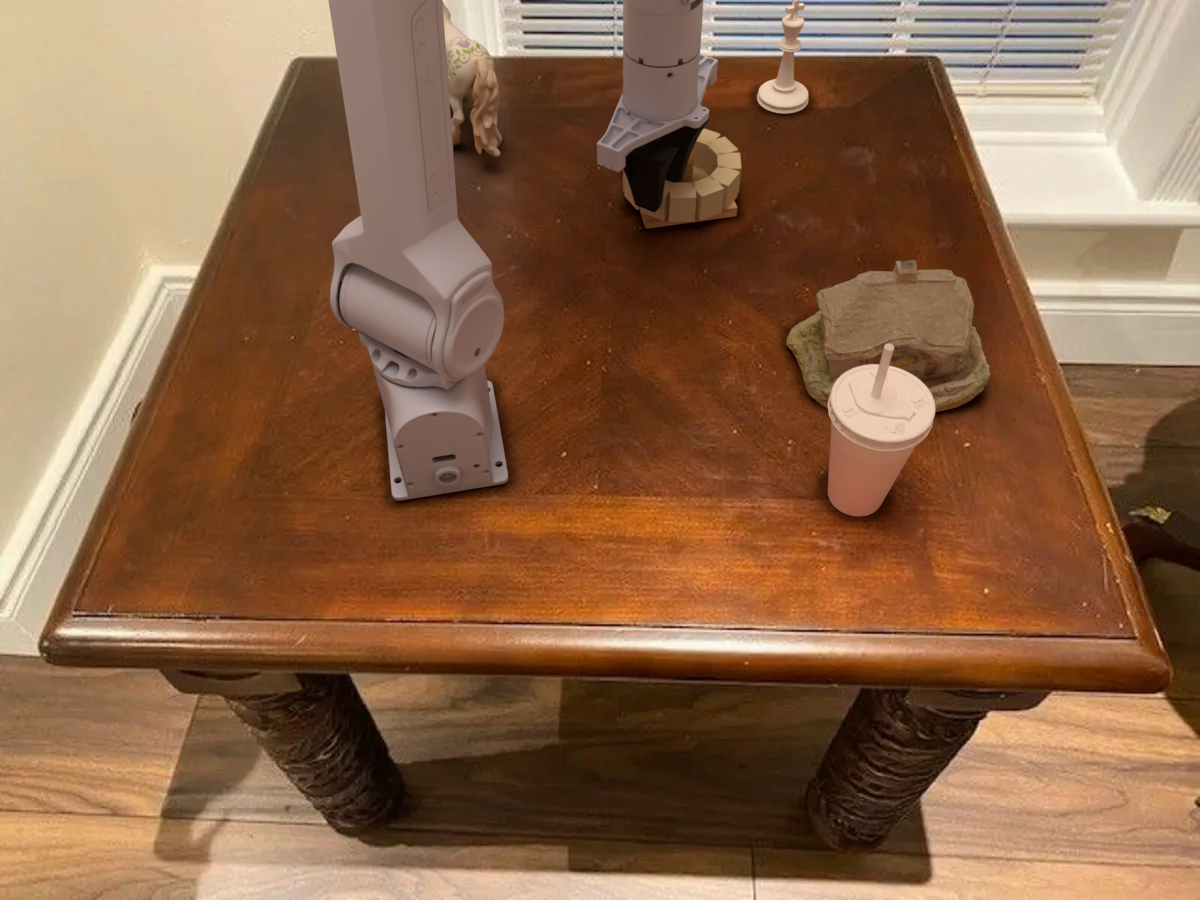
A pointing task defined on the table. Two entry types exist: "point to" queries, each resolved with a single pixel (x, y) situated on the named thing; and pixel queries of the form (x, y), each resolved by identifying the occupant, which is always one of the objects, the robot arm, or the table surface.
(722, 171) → the block ring
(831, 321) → the ceramic model
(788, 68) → the chess piece
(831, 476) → the smoothie
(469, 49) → the unicorn figurine
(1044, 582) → the table surface
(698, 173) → the post stand
